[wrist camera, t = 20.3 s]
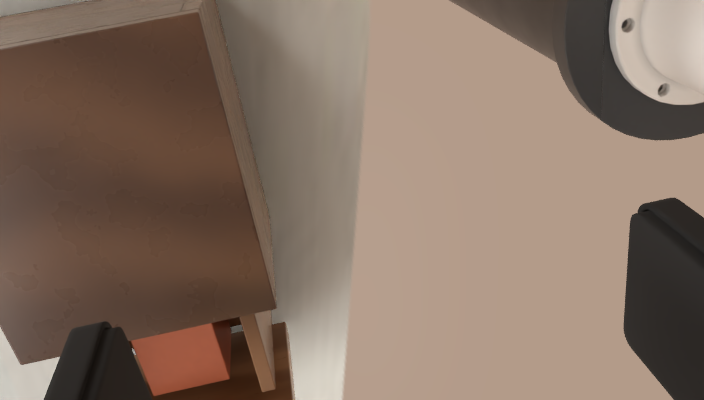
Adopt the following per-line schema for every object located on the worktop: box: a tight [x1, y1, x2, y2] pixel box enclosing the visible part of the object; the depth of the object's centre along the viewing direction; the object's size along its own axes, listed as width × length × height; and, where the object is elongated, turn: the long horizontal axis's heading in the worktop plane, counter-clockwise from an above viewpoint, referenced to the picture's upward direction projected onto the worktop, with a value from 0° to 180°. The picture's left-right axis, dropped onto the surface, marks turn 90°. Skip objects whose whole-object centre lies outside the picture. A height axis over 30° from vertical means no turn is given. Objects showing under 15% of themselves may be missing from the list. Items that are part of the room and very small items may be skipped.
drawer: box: [128, 310, 295, 400], centre depth 37 cm, size 18×11×8 cm, turn 9°
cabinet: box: [0, 0, 277, 365], centre depth 32 cm, size 15×13×10 cm
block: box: [131, 320, 231, 396], centre depth 37 cm, size 4×4×4 cm
